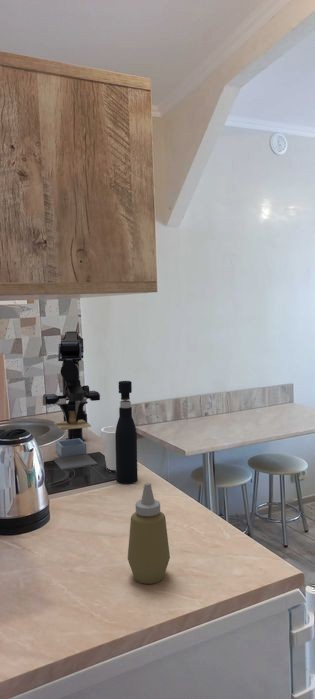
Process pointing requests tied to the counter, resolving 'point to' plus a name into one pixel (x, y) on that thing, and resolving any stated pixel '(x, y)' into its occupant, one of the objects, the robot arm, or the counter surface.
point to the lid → (72, 422)
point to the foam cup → (109, 446)
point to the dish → (70, 447)
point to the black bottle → (126, 439)
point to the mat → (74, 461)
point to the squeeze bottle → (148, 540)
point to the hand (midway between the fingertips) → (72, 422)
